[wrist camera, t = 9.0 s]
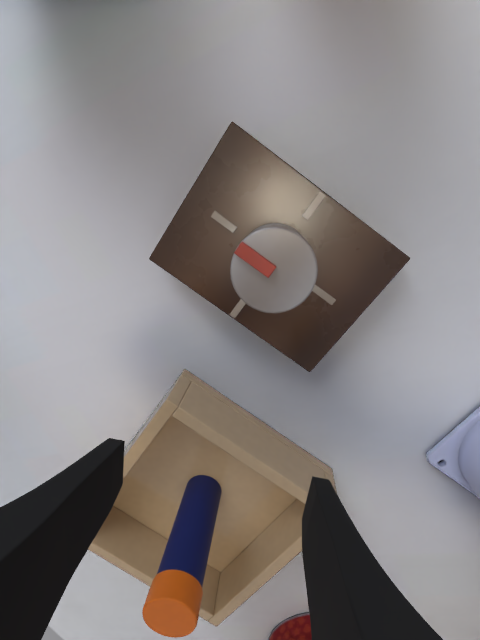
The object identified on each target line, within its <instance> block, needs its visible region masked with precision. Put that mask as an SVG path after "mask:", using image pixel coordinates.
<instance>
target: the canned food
mask: <svg viewBox="0 0 480 640" xmlns="http://www.w3.org/2000/svg"><path fill="white" fill-rule="evenodd" d="M269 640H312V635H311V623H310V613H304V614H299V615H296V616H293V617H291V618H288V619H286V620H285V621H283V622H281V623H280V624H279V625H278V626H277V627H276V628H275V629H274V630H273V631H272V633H271V635H270V637H269Z"/></svg>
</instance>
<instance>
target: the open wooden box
mask: <svg viewBox="0 0 480 640" xmlns="http://www.w3.org/2000/svg"><path fill="white" fill-rule="evenodd" d="M197 475H207V476H210V477H212V478H214V479H215V480H216V481H217V482H218V483H219V484H220V487H221V491H222V492H221V498H220V503H219V508H218V513H217V517H216V522H215V527H214V532H213V537H212V542H211V547H210V552H209V557H208V562H207V567H206V572H205V577H204V581H203V586H202V591H203V596H202V601H201V606H200V611H199V617H201V618H203V619H204V620H206V621H208V622H209V623H211V624H213V625H214V626H218V625H219V624H220V623H221V622H222V621H224V620H225V619H226V618H227V617H228V616H229V615H230V614H231V613H233V612H234V611H235V610H236V609H237V608H238V607H239V606H240V605H242V604H243V603H244V602H245V601H246V600H247V599H248V598H249V597H251V596H252V595H253V594H254V593H255V592H256V591H257V590H258V589H259V588H261V587H262V586H263V585H264V584H265V583H266V582H267V581H268V580H270V579H271V578H272V577H273V576H274V575H275V574H276V573H277V572H279V571H280V570H281V569H282V568H283V567H284V566H285V565H286V564H287V563H289V562H290V561H291V560H292V559H293V558H294V557H295V556H296V555H298V554H299V553H300V552H301V551H302V516H303V512H304V508H305V504H306V500H307V496H308V492H309V488H310V484H311V480H312V476H313V477H319V478H324V479H329V480H330V482H331V483H332V485H333V487H334V489H335V491H336V487H335V482H334V478H333V471H332V469H331V468H330V467H328V466H327V465H326V464H324V463H323V462H321V461H320V460H318V459H317V458H315V457H314V456H312V455H311V454H309V453H308V452H306V451H305V450H303V449H302V448H300V447H299V446H298V445H296V444H295V443H293V442H292V441H290V440H289V439H287V438H286V437H284V436H283V435H281V434H280V433H278V432H277V431H275V430H274V429H272V428H271V427H270V426H268V425H267V424H265V423H264V422H262V421H261V420H259V419H258V418H256V417H255V416H253V415H252V414H250V413H249V412H247V411H246V410H244V409H243V408H242V407H240V406H239V405H237V404H236V403H234V402H233V401H231V400H230V399H228V398H227V397H225V396H224V395H222V394H221V393H219V392H218V391H216V390H215V389H214V388H212V387H211V386H209V385H208V384H206V383H205V382H203V381H202V380H200V379H199V378H197V377H196V376H194V375H193V374H191V373H190V372H188V371H187V370H185V369H184V370H183V372H182V373H181V374H180V376H179V377H178V378H177V380H176V381H175V382H174V384H173V385H172V387H171V388H170V389H169V391H168V392H167V393H166V395H165V396H164V398H163V399H162V400H161V402H160V403H159V404H158V406H157V407H156V409H155V410H154V411H153V413H152V414H151V415H150V417H149V418H148V420H147V421H146V422H145V424H144V425H143V426H142V428H141V429H140V431H139V432H138V433H137V435H136V436H135V437H134V439H133V440H132V442H131V443H130V444H129V446H128V447H127V448H126V450H125V451H124V467H123V485H122V487H121V489H120V491H119V494H118V496H117V498H116V500H115V503H114V505H113V507H112V509H111V511H110V513H109V514H108V516H107V518H106V520H105V521H104V523H103V525H102V526H101V528H100V530H99V531H98V533H97V535H96V536H95V538H94V540H93V541H92V543H91V545H90V547H89V548H88V550H90V551H92V552H93V553H95V554H97V555H98V556H100V557H102V558H103V559H105V560H107V561H108V562H110V563H112V564H113V565H115V566H117V567H118V568H120V569H121V570H123V571H125V572H126V573H128V574H130V575H131V576H133V577H135V578H136V579H138V580H140V581H141V582H143V583H145V584H146V585H148V586H150V587H151V584H152V581H153V579H154V577H155V576H156V575H157V572H158V569H159V566H160V563H161V560H162V557H163V554H164V551H165V548H166V545H167V542H168V539H169V536H170V533H171V530H172V527H173V524H174V521H175V518H176V515H177V512H178V509H179V506H180V503H181V500H182V497H183V494H184V491H185V488H186V485H187V483H188V481H189V480H190V479H191V478H192V477H194V476H197ZM336 493H337V492H336Z"/></svg>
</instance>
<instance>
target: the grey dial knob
mask: <svg viewBox="0 0 480 640" xmlns="http://www.w3.org/2000/svg"><path fill="white" fill-rule="evenodd" d="M317 272H318V268H317V260H316V257H315V254H314V251H313V249H312V248H311V246H310V245H309V243H308V242H307V241H306V240H305V238H304V237H303V236H302V235H301V234H300V233H299V232H298V231H297V230H296V229H294V228H292V227H290V226H288V225H285V224H281V223H270V224H266V225H263V226H260V227H258V228H257V229H255V230H254V231H253V232H251V233H250V234H249V235H248V236H247V237H246V238H244V239H243V240H242V241H241V243H240V244H239V245H238V247H237V248H236V250H235V252H234V254H233V257H232V260H231V266H230V274H231V280H232V284H233V287H234V289H235V291H236V293H237V294H238V296H239V297H240V298H241V299H242V300H243V301H244V302H245V303H246V304H247V305H248V306H250V307H252V308H253V309H256V310H258V311H261V312H265V313H282V312H286V311H289V310H291V309H293V308H295V307H297V306H299V305H300V304H301V303H302V302H304V301H305V300H306V298H307V297H308V296H309V295H310V293H311V292H312V290H313V288H314V286H315V283H316V279H317Z"/></svg>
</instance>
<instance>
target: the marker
mask: <svg viewBox="0 0 480 640" xmlns="http://www.w3.org/2000/svg"><path fill="white" fill-rule="evenodd" d="M221 492H222V491H221V487H220V484H219V483H218V482H217V481H216V480H215V479H214V478H212V477H210V476H207V475H197V476H194V477H192V478H191V479H190V480H189V481H188V483H187V485H186V488H185V491H184V494H183V497H182V500H181V503H180V506H179V509H178V512H177V515H176V518H175V521H174V524H173V527H172V530H171V533H170V536H169V539H168V542H167V545H166V548H165V551H164V554H163V557H162V560H161V563H160V566H159V569H158V572H157V575H156V576H155V577H154V579H153V581H152V584H151V587H150V590H149V593H148V595H147V598H146V601H145V604H144V607H143V618H144V621H145V622H146V624H147V625H148V626H149V627H150V628H151V629H152V630H154V631H155V632H157V633H159V634H161V635H164V636H168V637H183V636H186V635H188V634H190V633H191V632H193V630H194V629H195V627H196V625H197V621H198V616H199V611H200V606H201V601H202V596H203V591H202V586H203V581H204V577H205V572H206V567H207V562H208V557H209V552H210V547H211V542H212V537H213V532H214V527H215V522H216V517H217V513H218V508H219V503H220V498H221Z"/></svg>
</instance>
